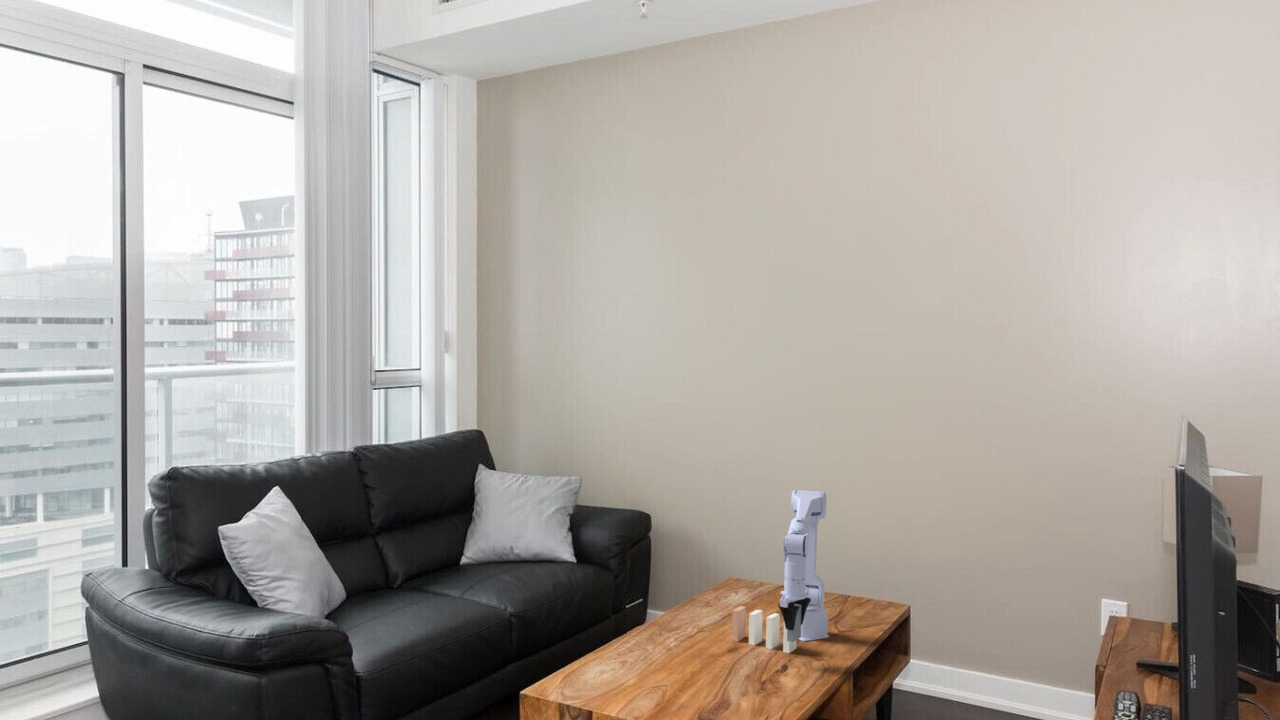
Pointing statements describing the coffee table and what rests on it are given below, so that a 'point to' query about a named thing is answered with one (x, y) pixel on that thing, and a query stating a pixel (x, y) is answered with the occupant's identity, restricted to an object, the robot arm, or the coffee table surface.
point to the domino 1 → (739, 623)
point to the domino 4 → (796, 633)
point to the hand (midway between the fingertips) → (794, 626)
